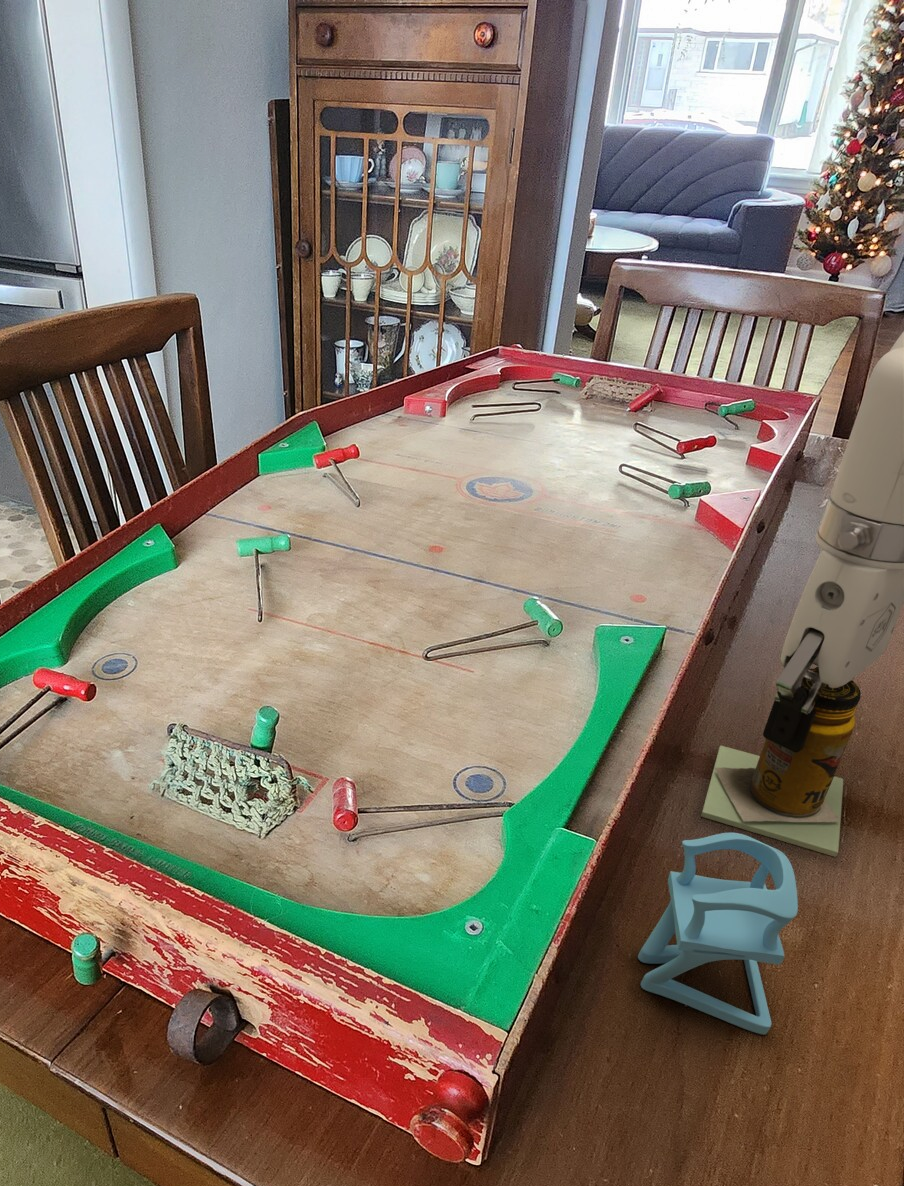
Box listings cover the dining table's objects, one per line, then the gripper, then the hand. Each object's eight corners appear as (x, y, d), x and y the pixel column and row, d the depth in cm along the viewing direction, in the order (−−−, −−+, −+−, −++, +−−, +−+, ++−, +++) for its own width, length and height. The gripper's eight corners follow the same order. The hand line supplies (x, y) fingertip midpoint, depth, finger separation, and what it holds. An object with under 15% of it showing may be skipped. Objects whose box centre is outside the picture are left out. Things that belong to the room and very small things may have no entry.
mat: (718, 749, 87) (720, 744, 87) (841, 783, 84) (843, 778, 83) (700, 816, 79) (702, 811, 79) (836, 857, 75) (838, 852, 75)
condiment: (839, 823, 78) (889, 706, 71) (742, 822, 77) (783, 706, 71) (803, 770, 84) (846, 659, 77) (713, 770, 83) (748, 658, 77)
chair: (634, 931, 68) (670, 810, 61) (749, 948, 67) (798, 827, 60) (643, 1016, 62) (683, 892, 55) (769, 1036, 61) (827, 912, 54)
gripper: (878, 580, 59) (794, 792, 70) (973, 517, 69) (887, 710, 80) (771, 543, 64) (707, 747, 74) (874, 488, 74) (805, 675, 84)
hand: (801, 726), depth 77 cm, fingers closed on condiment, 6 cm apart
